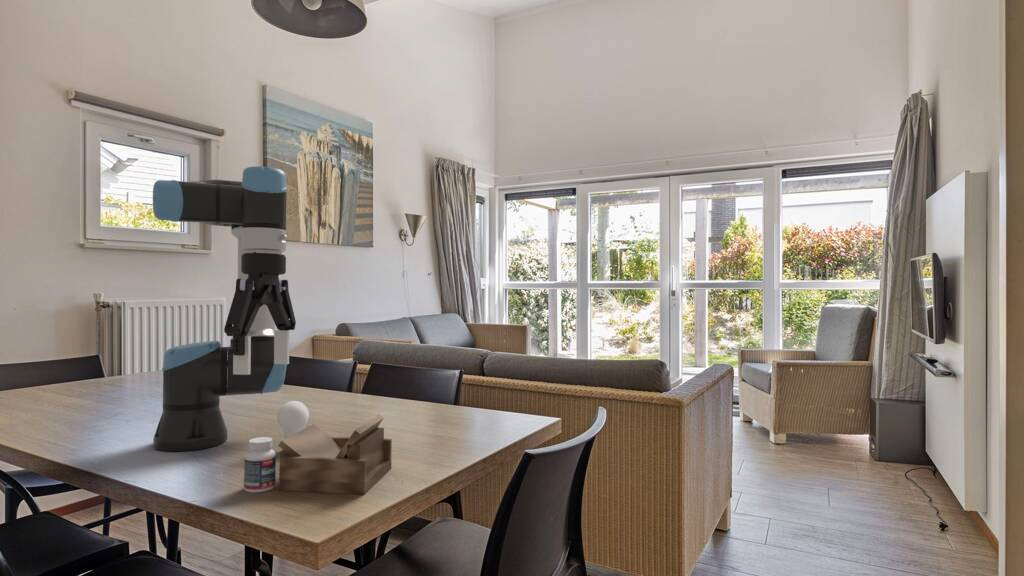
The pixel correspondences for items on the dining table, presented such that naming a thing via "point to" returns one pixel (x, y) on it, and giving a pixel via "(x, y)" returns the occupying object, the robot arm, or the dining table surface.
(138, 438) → the dining table surface
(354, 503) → the dining table surface
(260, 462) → the pill bottle
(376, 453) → the wooden box with flaps
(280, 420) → the light bulb
